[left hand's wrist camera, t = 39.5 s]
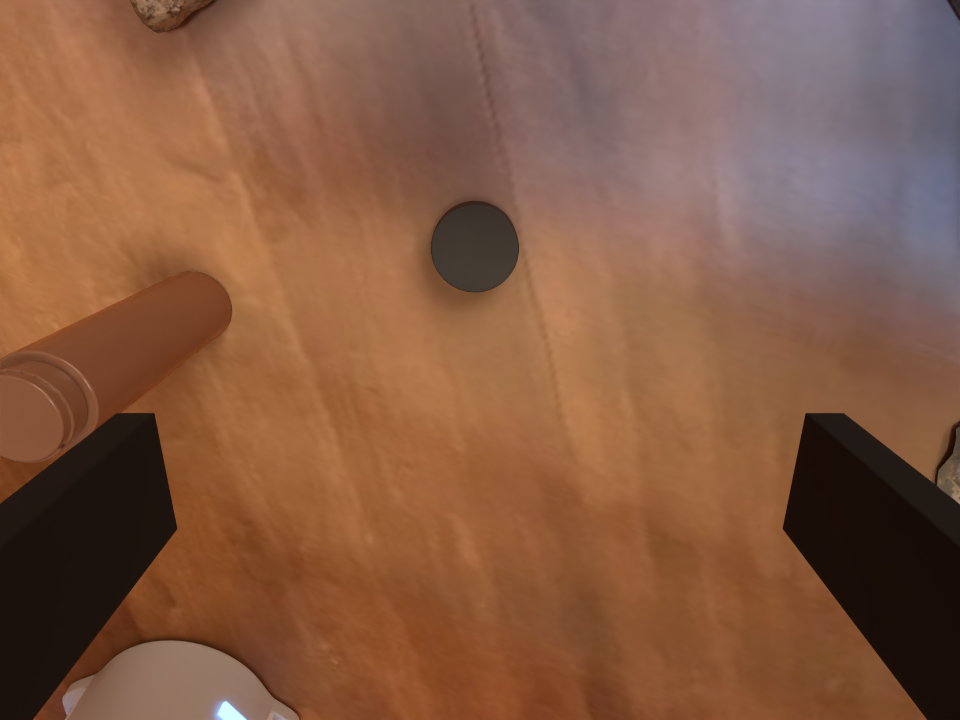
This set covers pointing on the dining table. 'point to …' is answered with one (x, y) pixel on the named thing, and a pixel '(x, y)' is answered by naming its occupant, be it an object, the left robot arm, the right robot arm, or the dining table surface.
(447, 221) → the lid
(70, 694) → the right robot arm
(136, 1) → the rock
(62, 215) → the dining table surface
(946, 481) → the slab
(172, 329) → the jar
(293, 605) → the dining table surface
